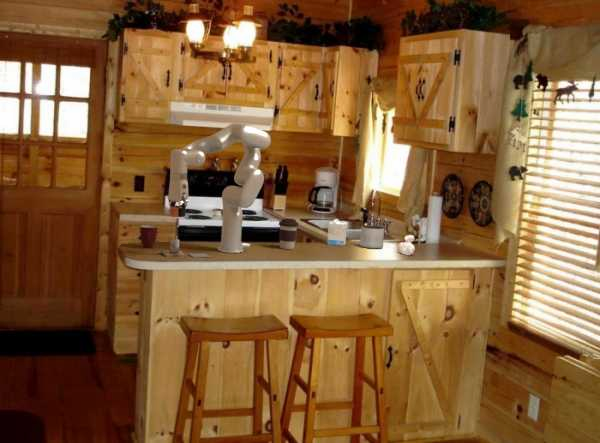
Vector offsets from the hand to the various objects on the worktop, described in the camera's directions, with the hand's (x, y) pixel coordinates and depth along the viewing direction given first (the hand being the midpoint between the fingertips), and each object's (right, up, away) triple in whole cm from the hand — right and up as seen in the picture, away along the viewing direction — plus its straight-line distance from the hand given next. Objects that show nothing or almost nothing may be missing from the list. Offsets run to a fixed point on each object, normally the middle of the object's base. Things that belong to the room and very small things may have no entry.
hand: (177, 215), depth 374 cm
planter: (+94, -17, +67) cm, 117 cm away
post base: (-2, -18, +2) cm, 18 cm away
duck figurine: (+112, -20, +53) cm, 125 cm away
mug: (-16, -15, +16) cm, 27 cm away
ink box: (+76, -15, +69) cm, 104 cm away
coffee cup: (+49, -17, +43) cm, 68 cm away
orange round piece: (0, 0, 0) cm, 0 cm away
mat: (+9, -19, +4) cm, 21 cm away
